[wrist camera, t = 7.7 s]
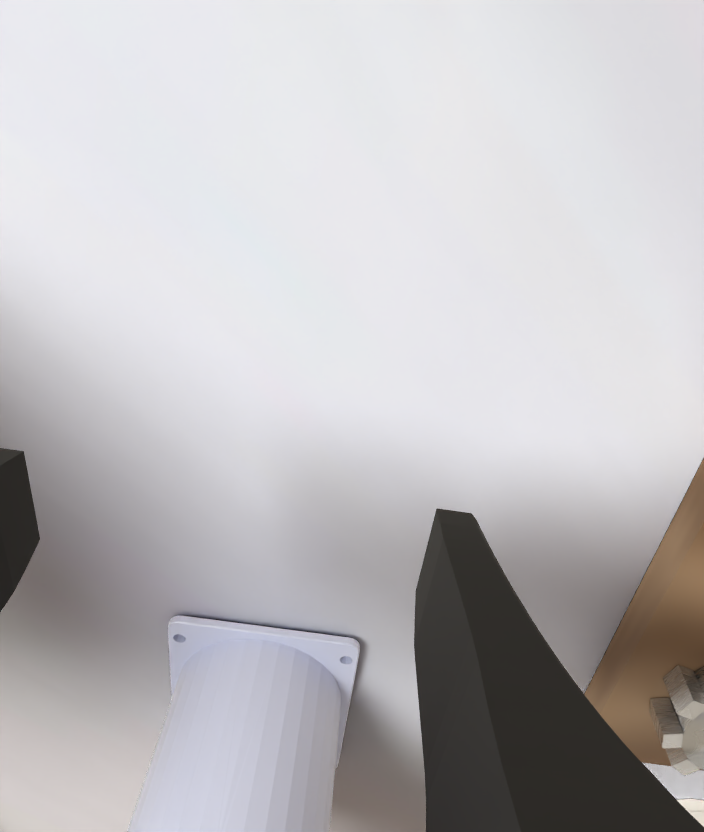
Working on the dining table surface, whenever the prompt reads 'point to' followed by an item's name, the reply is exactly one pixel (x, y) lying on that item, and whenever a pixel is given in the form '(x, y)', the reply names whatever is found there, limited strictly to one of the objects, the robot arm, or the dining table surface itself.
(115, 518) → the dining table surface
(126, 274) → the dining table surface
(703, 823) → the foam cup
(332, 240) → the dining table surface
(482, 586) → the robot arm
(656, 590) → the gear board
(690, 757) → the gear
